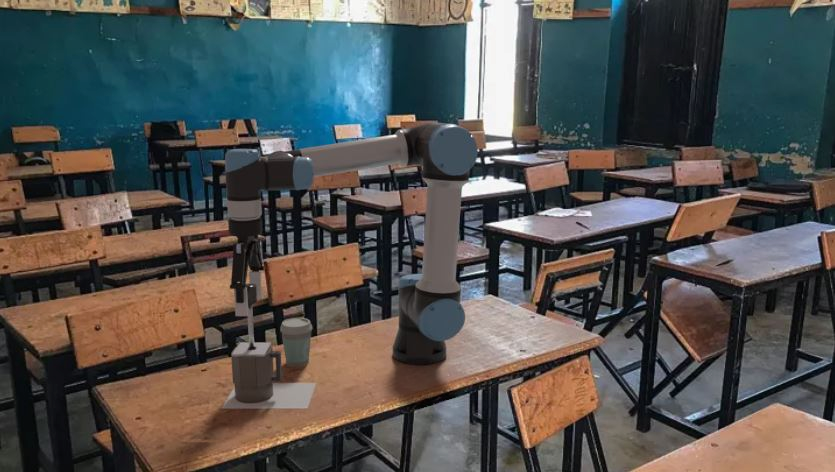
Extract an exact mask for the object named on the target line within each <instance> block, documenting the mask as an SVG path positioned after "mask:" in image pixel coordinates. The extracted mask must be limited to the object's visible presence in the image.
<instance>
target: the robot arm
mask: <svg viewBox="0 0 835 472" xmlns="http://www.w3.org/2000/svg"><path fill="white" fill-rule="evenodd" d="M478 155H479V154H478V144H477V141H476V139H475V137H474V135H473V134H472V133H471V132H470V131H469V130H467V128H465V127H463V126H461V125H459V124H454V123H443V122H438V121H435V122H428V123H424V124H420V125H417V126H412V127H407V128H403V129H402V128H401V129H397V131H395V133H394V134H390V135H383V136H382V135H381V136H377V137H369V138H363V139H355V140H351V141H344V142H338V143H331V144H324V145H319V146H318V145H317V146H310V147H305V148H299V149H293V150H292V149H290V150H286V151H284V150H276V151H273V152H270V154H269V155H267V157H261V155H260V152H259V150H258V149H255V148H233V149H230V150H229V149H228V150H227V151H226V153H225V155H224V163H225V164H224V172H225V187H226V189H225V190H226V201H227V202H225V204H224V206H225V207H226V208H227V216H228V218H229V219H228V220H227V225H228V228H227V229H228V234H229V235H230V236H231V237H236V238H237V242H236V243H233V244H232V266H231V267H232V268H231V277H230V278H231V279H230V284H229V289H230V290H233V291H234V292H233V293H234V294H233V295H234V312H235V313H234V314H235V317H248V297H247V287H246V284H247V278H249V279H248V280H249V283H248V284H256V285H257V299H262V298H263V295H262V294H263V291H262V271H265V266H263V265H264V263H263V258H262V252H261V247H260V241H259V235H261V234H262V233H263V218H261V216H262V215H263V210H262V208H263V207H262V196H261V191H262V192H268V191H292V190H293V191H300V190H309V189H311V188H312V187H313V185H314V180H315V179H314V178H317V177H318V178H319V177H324V176H330V175H331V176H332V175H337V174H342V173H348V172H356V171H363V170H368V169H374V168H380V167H386V166H391V165H397V164H398V165H401V166H402V167H403V168H404V167H409V166H421V167H422V168H421V169H422V172H421V178H422V180H423V181H424V182H425V184H426V185H427V190H426V205H425V221H424V238H423V251H422V254H423V255H422V269H421V270H422V271H421V273H412V274H407V275H403V276H401V277H400V278H399V280H398V287H397V290H398V329H397V333H396V336H395V338H394V342H393V345H392V357H393V358H394V359H395V360H397V361H398V362H401V363H403V364H408V365H419V366H420V365H421V366H422V365H431V364H436V363H439V362H442V361H444V359H446V357H447V343H446V341H448V340H450V339H452V338H455V336H456V335H457V334H459V333H460V332H461V330H462V329H463V327H464V325H465V321H466V313H465V309H464V307H463V305H462V304H461V292H462V288H461V287H462V286H461V285H460V284H459V282H458V281H457V278H456V276H457V265H458V263H457V261H458V249H459V233H460V222H461V221H460V219H461V208H462V207H461V205H462V193H463V187H464V186H465V185H466V184H468V182H469V180H470V179H469V178H470V170H471V169H472V168H473V167H474V166H475V164H476V162H477V157H478Z"/></svg>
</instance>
